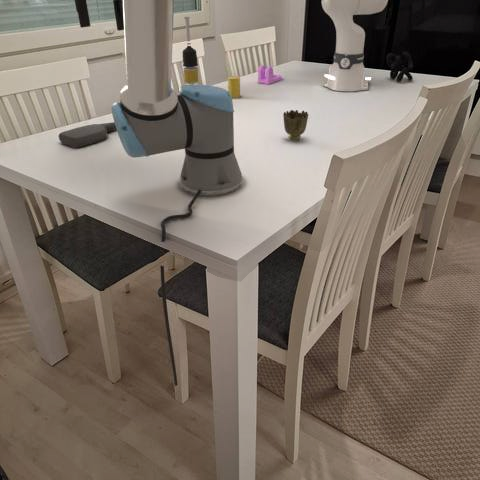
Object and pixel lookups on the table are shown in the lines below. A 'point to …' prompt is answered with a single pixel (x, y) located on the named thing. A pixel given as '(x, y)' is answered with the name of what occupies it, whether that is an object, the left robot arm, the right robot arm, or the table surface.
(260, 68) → the bracket
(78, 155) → the table surface
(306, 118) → the cup
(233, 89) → the tin
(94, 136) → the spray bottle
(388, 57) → the squiggle
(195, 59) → the long nozzle bottle
